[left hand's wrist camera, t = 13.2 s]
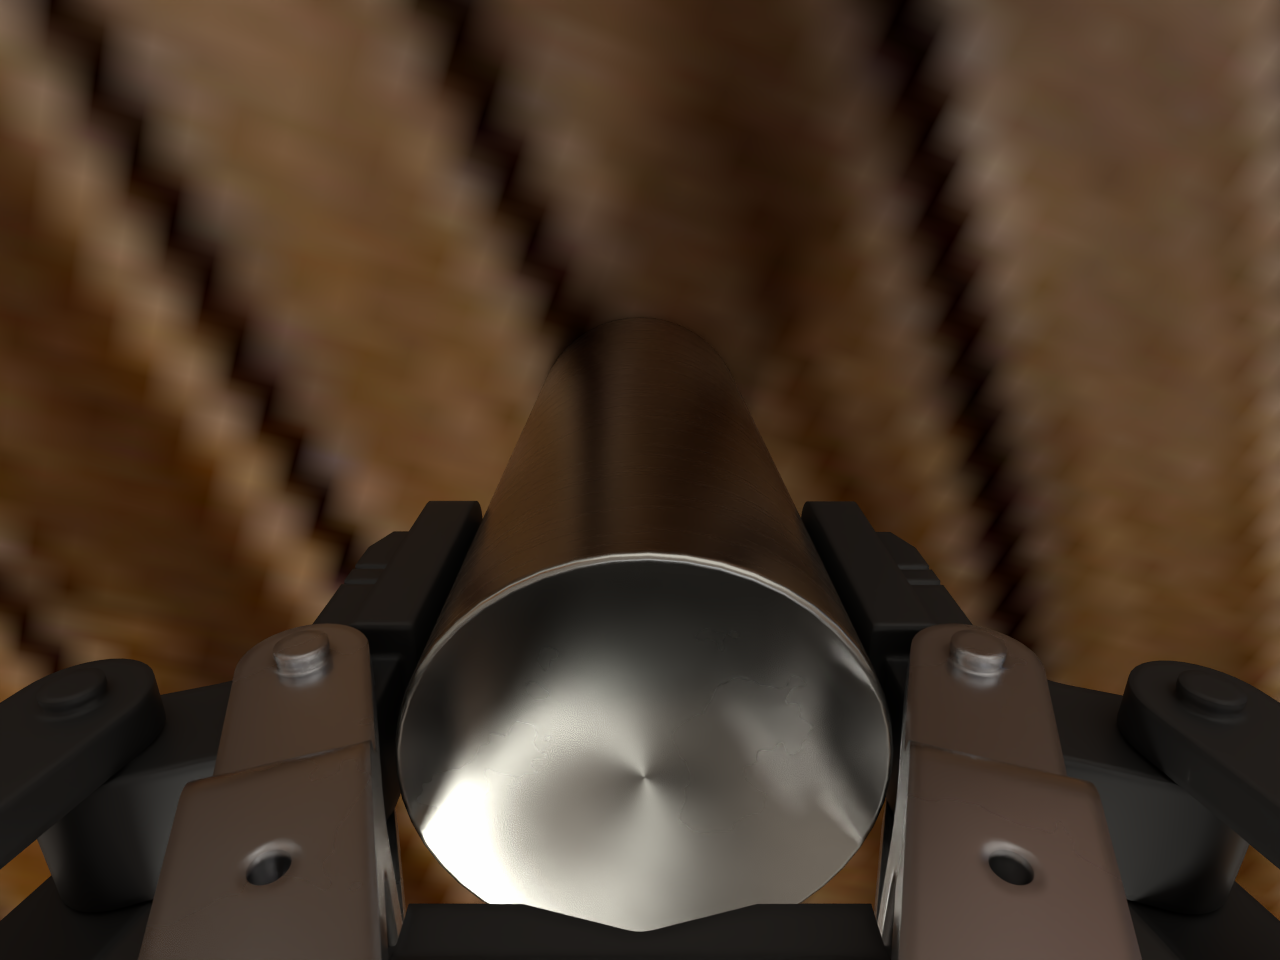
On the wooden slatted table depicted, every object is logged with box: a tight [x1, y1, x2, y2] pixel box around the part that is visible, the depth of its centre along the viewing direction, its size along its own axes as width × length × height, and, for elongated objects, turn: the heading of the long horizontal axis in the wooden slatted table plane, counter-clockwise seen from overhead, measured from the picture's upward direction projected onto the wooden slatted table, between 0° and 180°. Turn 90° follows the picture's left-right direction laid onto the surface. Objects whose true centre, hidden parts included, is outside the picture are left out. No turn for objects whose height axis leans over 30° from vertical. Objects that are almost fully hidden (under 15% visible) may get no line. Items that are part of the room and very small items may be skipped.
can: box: [395, 317, 894, 931], centre depth 13 cm, size 5×5×12 cm
